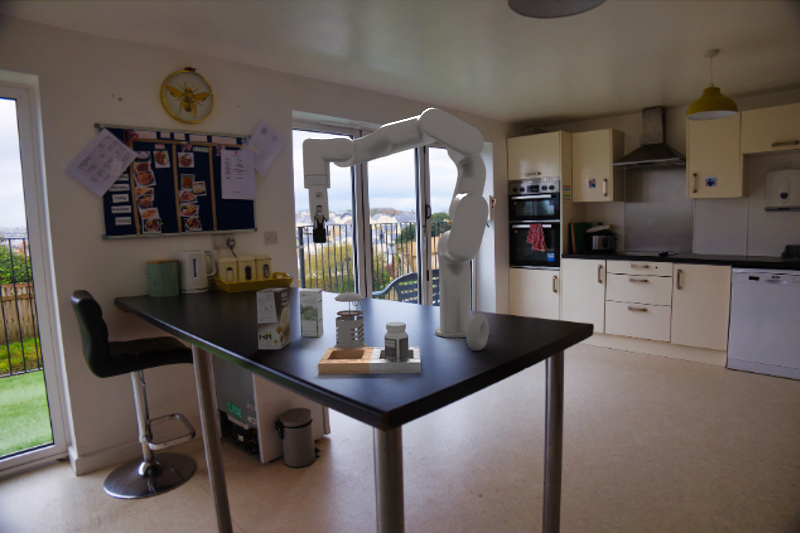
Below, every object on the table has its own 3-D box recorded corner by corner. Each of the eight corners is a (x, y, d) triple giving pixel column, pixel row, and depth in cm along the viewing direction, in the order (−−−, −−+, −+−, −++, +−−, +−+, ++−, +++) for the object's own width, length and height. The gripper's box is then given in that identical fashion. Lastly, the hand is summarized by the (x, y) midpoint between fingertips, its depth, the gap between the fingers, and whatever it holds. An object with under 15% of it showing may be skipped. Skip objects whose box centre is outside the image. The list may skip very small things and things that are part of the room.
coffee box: (280, 349, 129) (278, 291, 127) (258, 349, 129) (255, 291, 128) (291, 341, 138) (289, 287, 136) (270, 341, 138) (268, 287, 137)
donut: (476, 355, 119) (476, 316, 118) (464, 354, 121) (463, 315, 120) (491, 346, 127) (491, 310, 127) (479, 345, 129) (479, 309, 128)
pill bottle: (405, 360, 116) (404, 320, 115) (411, 366, 111) (411, 325, 110) (382, 362, 115) (381, 322, 114) (388, 369, 109) (387, 326, 108)
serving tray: (419, 356, 119) (419, 346, 119) (420, 373, 106) (420, 362, 105) (329, 357, 120) (328, 347, 120) (318, 374, 106) (318, 363, 106)
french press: (326, 350, 127) (323, 257, 125) (345, 340, 138) (343, 255, 136) (359, 353, 124) (356, 258, 122) (376, 342, 135) (374, 255, 133)
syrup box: (323, 333, 148) (322, 287, 147) (318, 337, 142) (317, 290, 141) (306, 333, 148) (304, 287, 147) (300, 337, 143) (298, 290, 141)
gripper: (333, 179, 128) (335, 243, 129) (327, 185, 144) (330, 241, 146) (304, 179, 126) (307, 243, 127) (302, 185, 143) (305, 242, 144)
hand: (319, 242), depth 137 cm, fingers open, 9 cm apart
